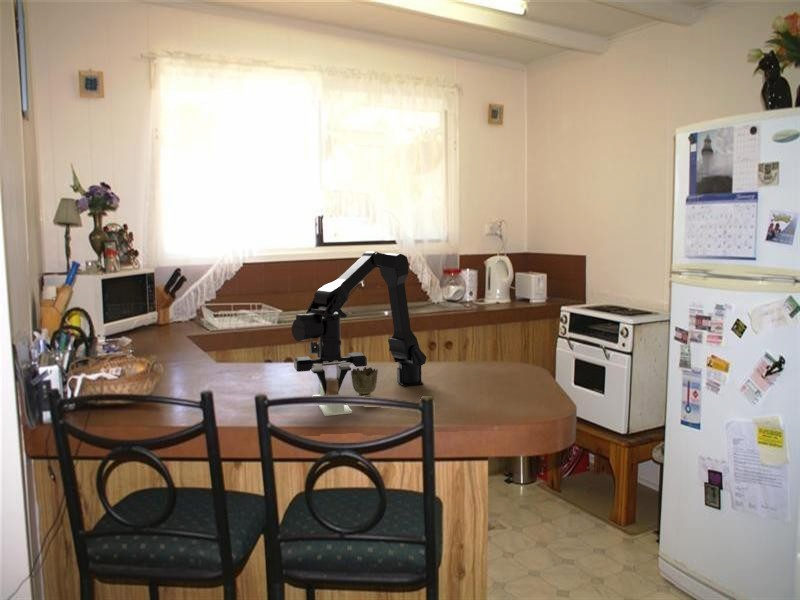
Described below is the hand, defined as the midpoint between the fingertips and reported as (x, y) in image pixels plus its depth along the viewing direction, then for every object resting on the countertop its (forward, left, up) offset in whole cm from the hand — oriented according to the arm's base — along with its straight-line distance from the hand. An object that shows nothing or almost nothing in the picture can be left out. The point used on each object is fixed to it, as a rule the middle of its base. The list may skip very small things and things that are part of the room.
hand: (331, 393), depth 170 cm
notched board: (0, 0, -3) cm, 3 cm away
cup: (-10, -3, -3) cm, 11 cm away
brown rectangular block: (0, 0, -1) cm, 1 cm away
